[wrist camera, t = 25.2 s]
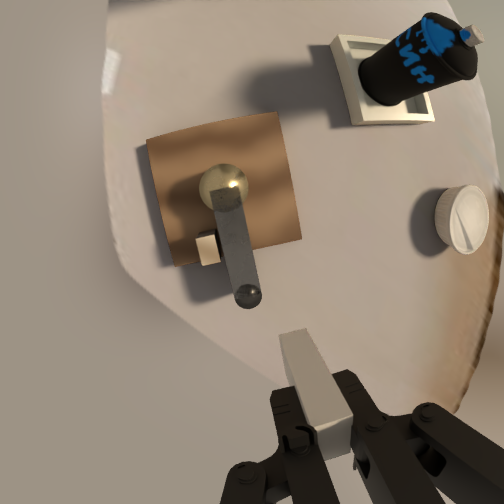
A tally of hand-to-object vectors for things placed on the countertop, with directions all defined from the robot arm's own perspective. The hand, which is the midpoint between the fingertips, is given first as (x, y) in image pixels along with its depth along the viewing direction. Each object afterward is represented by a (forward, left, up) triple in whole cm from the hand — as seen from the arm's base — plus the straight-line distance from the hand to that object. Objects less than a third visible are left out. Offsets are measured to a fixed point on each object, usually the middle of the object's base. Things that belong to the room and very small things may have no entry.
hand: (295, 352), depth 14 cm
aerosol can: (-21, +23, -22) cm, 38 cm away
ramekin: (+1, +34, -23) cm, 41 cm away
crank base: (-9, -2, -22) cm, 24 cm away
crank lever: (-4, -2, -20) cm, 20 cm away
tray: (-21, +23, -22) cm, 38 cm away
